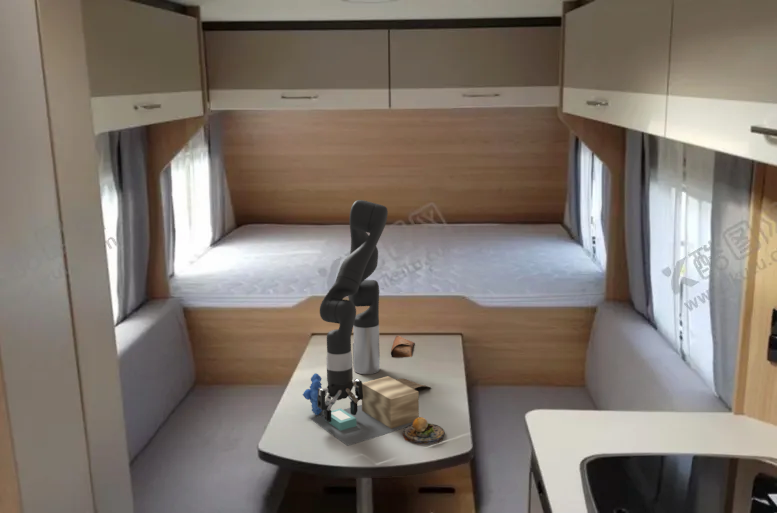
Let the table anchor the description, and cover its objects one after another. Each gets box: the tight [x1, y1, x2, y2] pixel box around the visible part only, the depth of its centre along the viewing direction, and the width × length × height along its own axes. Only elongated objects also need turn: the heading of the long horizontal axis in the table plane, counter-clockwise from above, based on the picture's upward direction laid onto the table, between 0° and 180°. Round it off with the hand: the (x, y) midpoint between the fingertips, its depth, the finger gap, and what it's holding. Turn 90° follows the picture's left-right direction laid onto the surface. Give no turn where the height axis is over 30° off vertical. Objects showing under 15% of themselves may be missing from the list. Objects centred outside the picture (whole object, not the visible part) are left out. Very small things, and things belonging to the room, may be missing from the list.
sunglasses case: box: [390, 335, 415, 358], centre depth 273 cm, size 18×7×7 cm
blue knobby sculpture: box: [302, 373, 323, 416], centre depth 214 cm, size 12×7×12 cm, turn 6°
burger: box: [402, 416, 446, 445], centre depth 197 cm, size 12×12×8 cm
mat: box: [310, 404, 413, 447], centre depth 208 cm, size 22×26×1 cm
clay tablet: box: [394, 378, 431, 390], centre depth 231 cm, size 16×11×3 cm
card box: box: [327, 408, 356, 431], centre depth 206 cm, size 9×6×2 cm, turn 34°
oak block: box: [361, 375, 420, 428], centre depth 210 cm, size 16×10×9 cm, turn 34°
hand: (341, 417), depth 206 cm, fingers open, 8 cm apart
